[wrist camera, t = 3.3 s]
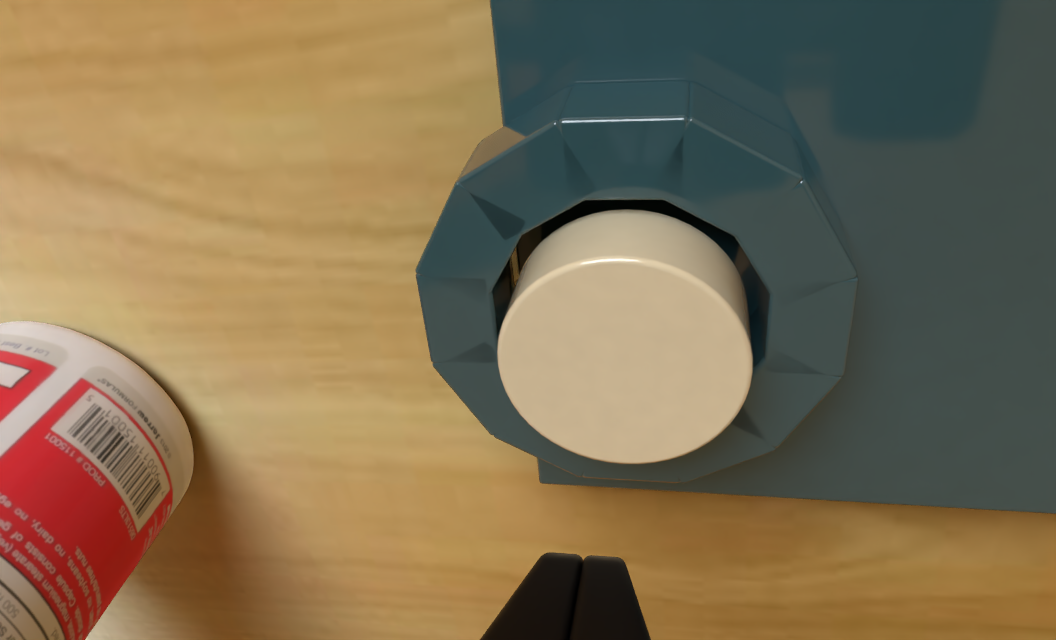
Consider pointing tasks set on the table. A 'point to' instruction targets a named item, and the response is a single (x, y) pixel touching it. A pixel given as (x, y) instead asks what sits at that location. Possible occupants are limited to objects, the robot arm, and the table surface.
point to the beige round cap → (627, 338)
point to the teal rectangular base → (792, 230)
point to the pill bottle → (78, 477)
